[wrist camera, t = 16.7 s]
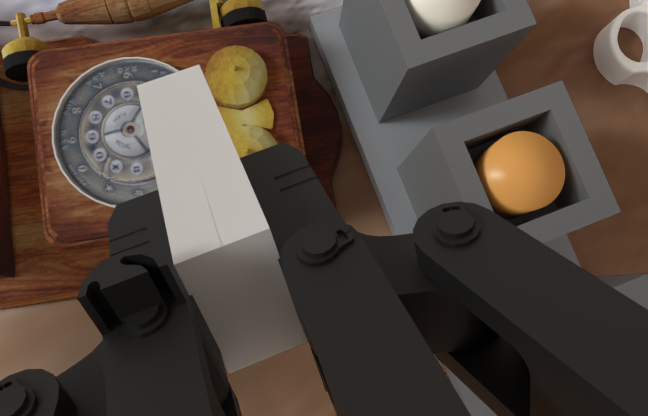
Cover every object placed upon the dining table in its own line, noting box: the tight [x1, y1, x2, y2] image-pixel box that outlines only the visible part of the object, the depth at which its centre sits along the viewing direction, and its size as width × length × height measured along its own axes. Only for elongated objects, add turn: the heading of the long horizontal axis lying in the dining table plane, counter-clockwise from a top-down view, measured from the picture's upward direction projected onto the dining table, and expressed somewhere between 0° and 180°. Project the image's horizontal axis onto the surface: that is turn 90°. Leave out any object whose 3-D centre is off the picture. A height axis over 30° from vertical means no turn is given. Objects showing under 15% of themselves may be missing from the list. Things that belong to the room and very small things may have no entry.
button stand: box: [309, 0, 648, 416], centre depth 45 cm, size 38×13×14 cm, turn 21°
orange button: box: [473, 131, 565, 219], centre depth 40 cm, size 5×5×4 cm
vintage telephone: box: [0, 0, 342, 309], centre depth 45 cm, size 24×12×40 cm
